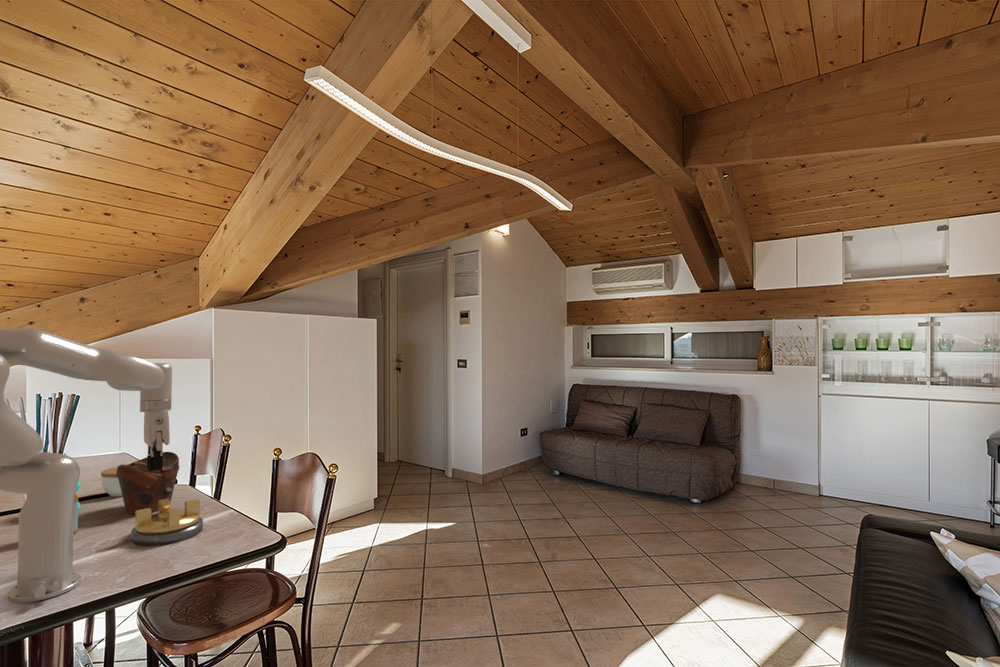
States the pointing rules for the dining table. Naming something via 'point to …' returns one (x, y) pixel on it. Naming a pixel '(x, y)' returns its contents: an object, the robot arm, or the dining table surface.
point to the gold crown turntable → (167, 518)
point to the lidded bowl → (111, 482)
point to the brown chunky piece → (147, 483)
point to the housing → (166, 536)
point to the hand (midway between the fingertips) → (154, 468)
